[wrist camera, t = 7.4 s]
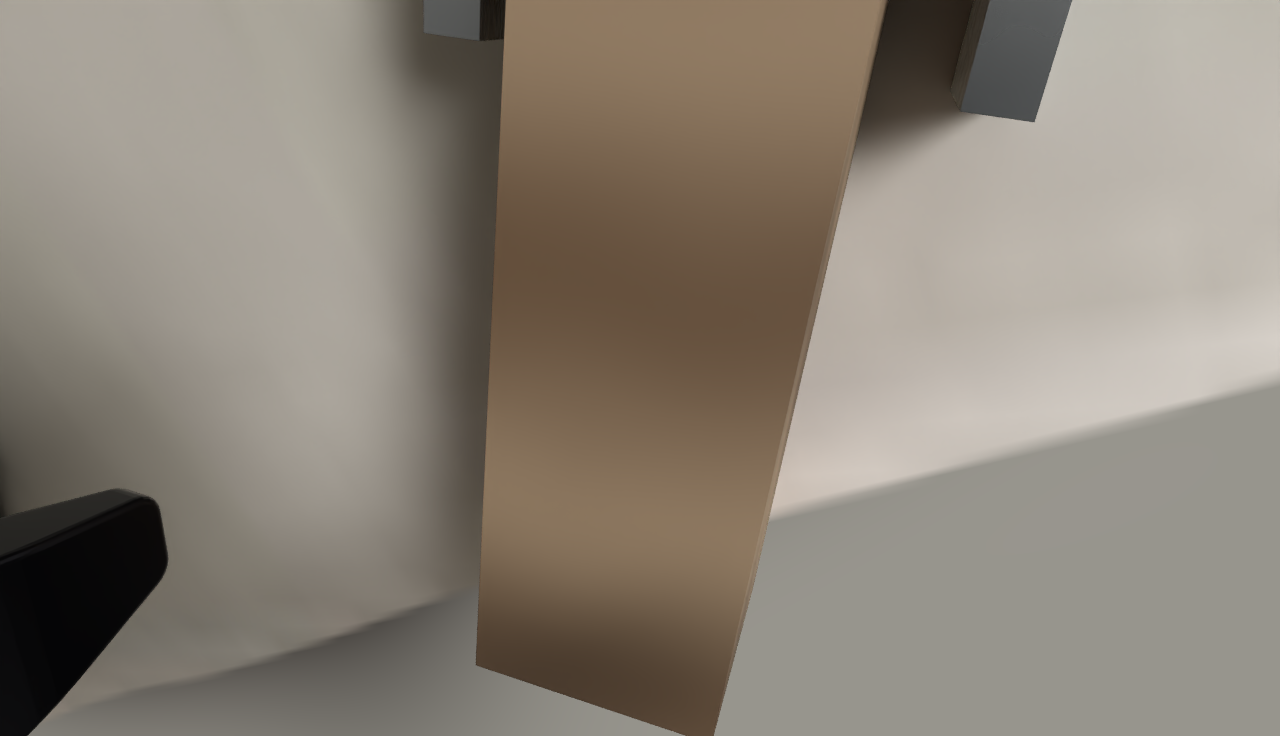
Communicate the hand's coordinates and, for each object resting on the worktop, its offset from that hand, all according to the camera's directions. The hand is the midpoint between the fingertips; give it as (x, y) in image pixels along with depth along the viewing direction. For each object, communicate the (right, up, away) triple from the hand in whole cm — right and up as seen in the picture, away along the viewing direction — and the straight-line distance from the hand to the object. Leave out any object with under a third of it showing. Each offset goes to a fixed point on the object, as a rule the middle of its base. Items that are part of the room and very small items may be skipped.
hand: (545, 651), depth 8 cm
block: (+2, +5, +6) cm, 8 cm away
